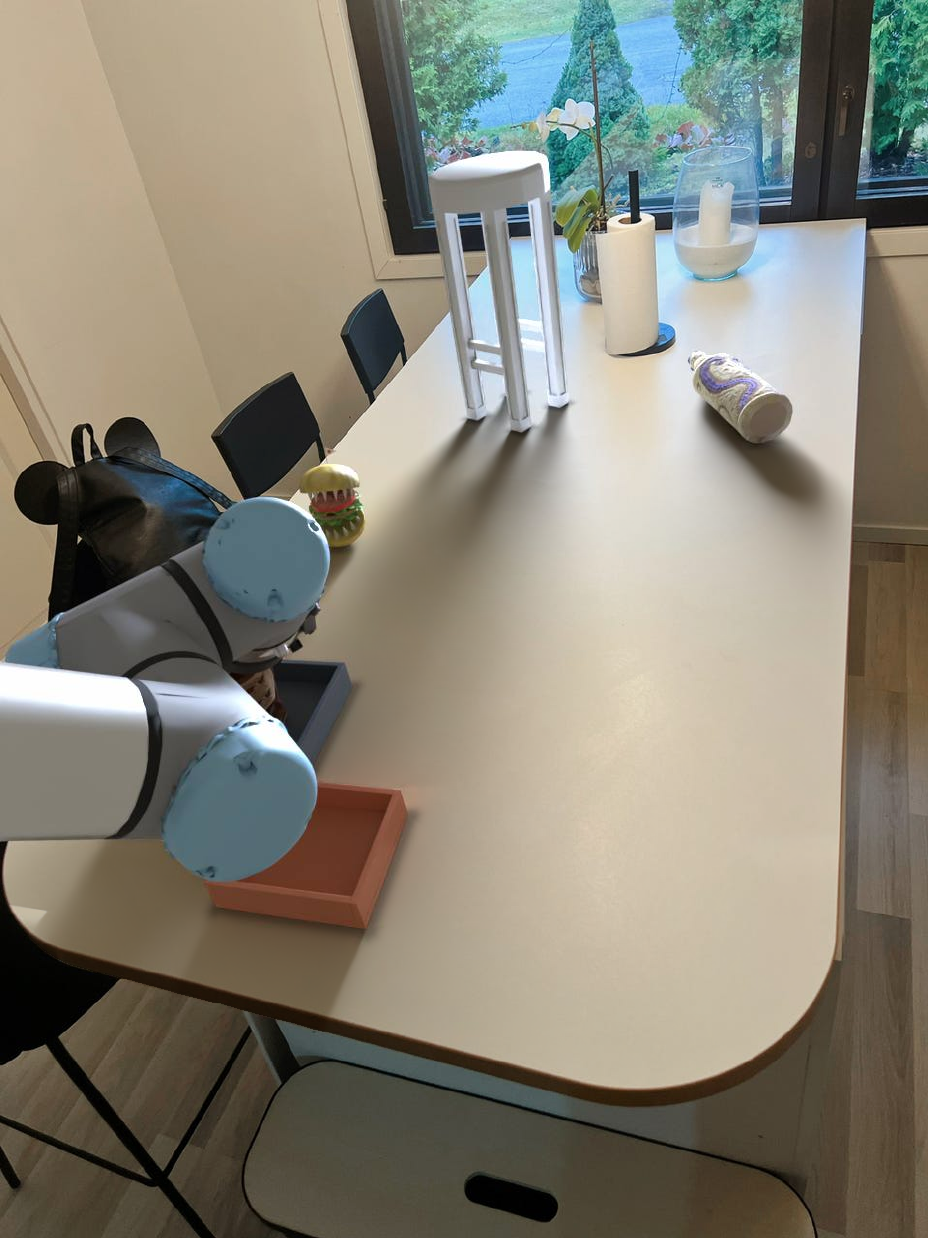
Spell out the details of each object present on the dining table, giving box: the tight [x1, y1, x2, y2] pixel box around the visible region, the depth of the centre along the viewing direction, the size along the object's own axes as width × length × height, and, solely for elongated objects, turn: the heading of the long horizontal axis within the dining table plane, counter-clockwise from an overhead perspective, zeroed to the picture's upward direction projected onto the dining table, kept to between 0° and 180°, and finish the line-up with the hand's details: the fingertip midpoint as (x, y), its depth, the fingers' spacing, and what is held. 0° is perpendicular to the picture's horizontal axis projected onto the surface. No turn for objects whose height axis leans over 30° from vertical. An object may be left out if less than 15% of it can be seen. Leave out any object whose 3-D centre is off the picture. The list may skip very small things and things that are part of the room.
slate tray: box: [273, 658, 353, 767], centre depth 86 cm, size 15×14×3 cm
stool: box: [427, 150, 570, 433], centre depth 126 cm, size 16×16×35 cm
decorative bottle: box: [687, 350, 794, 444], centre depth 124 cm, size 26×8×7 cm, turn 10°
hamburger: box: [298, 446, 366, 548], centre depth 111 cm, size 8×7×12 cm
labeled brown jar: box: [229, 667, 287, 724], centre depth 83 cm, size 9×8×13 cm
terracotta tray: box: [203, 781, 409, 930], centre depth 72 cm, size 13×11×3 cm
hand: (228, 677), depth 86 cm, fingers open, 9 cm apart
